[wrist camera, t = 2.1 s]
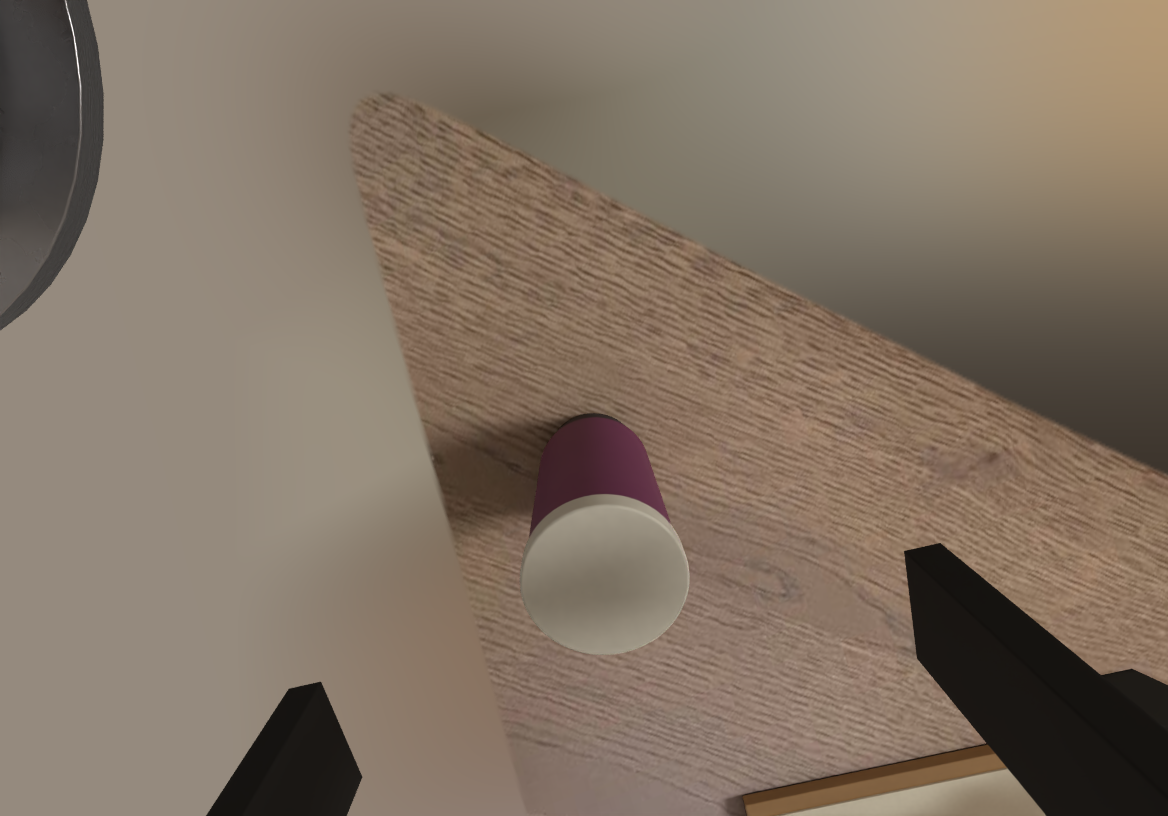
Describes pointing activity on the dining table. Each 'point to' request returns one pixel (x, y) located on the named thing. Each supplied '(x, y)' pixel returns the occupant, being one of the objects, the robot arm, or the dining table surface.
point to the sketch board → (907, 790)
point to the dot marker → (601, 543)
